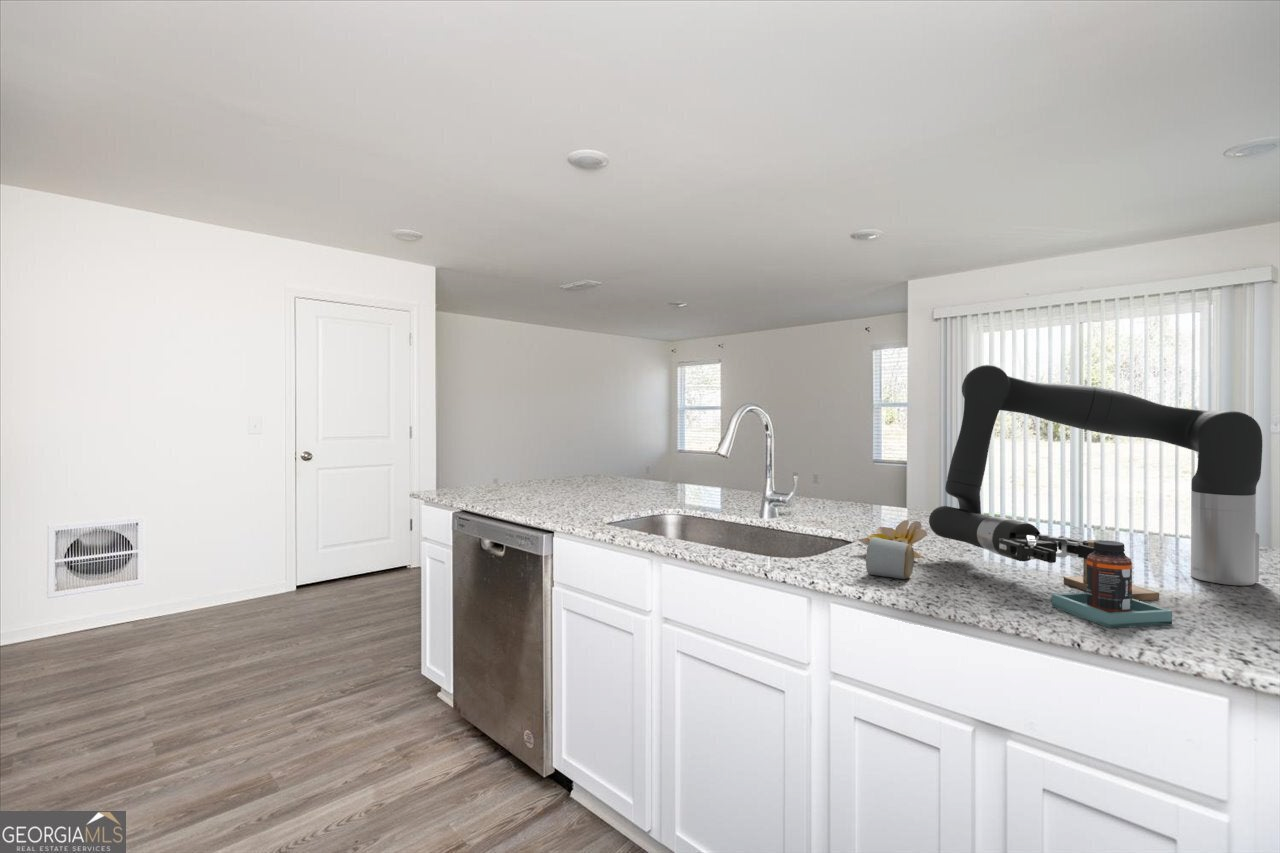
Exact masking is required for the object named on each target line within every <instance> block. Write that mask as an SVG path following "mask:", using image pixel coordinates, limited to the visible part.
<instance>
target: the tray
mask: <svg viewBox="0 0 1280 853" xmlns="http://www.w3.org/2000/svg"><path fill="white" fill-rule="evenodd" d="M1052 606H1053V607H1052ZM1051 607H1052V608H1055V609H1058V610H1061V611H1064V612H1066V613H1069V614H1071V615H1074V616H1076V617H1078V616H1079V618H1081V617H1082V618H1081V619H1083V620H1086V619H1087V621H1089V620H1090V622H1091V621H1093V622H1092V623H1094V622H1095V623H1094V624H1097V623H1098V624H1097V625H1099V624H1100V625H1099V626H1102V627H1105V628H1107V629H1116V628H1117V629H1120V628H1119V627H1123V628H1130V627H1129V626H1139V627H1152V626H1153V625H1155V626H1169V625H1168V624H1171V625H1173V610H1170V609H1167V608H1164V607H1161V606H1158V605H1155V604H1152V603H1147V602H1145V601H1143V600H1140V601H1139V600H1136V599H1133V598H1132V611H1131V612H1115V613H1108V612H1106V611H1103V610H1100V609H1097V608H1094V607H1092V606H1089V605H1087V591H1085V592H1069V593H1065V592H1064V593H1052V594H1051ZM1153 627H1154V626H1153Z"/></svg>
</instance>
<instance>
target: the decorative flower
mask: <svg viewBox="0 0 1280 853" xmlns="http://www.w3.org/2000/svg"><path fill="white" fill-rule="evenodd" d="M909 524H910V525H909ZM927 536H928V533H927V531H926V530H925V529H923V528H922V522H921V521H918V520H915V521H913V522H911V523H910V520H909V519H904V520H902V521H901V522H900V523H899V524H898V525H897V526H896V527H895V529H894V528H893V527H885V526H879V527H877V529H876V533H870V535H867V537H864V538H863V537H862V538H856V539H855V540H856V541H858V542H860V543H862V544H864V545H866V546H868V543H869V541H870V539H871V538H872V537H876V538H881V539H886V540H892V541H898V542H903V543H906V544H909V545H911V546H912V547H913V546H914V544H915V543H918V542H919V541H921V540H923V539H924V538H925V537H927ZM921 558H923V555H921V554H919V553H918V552H917V551H915V550H914V559H921Z"/></svg>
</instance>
